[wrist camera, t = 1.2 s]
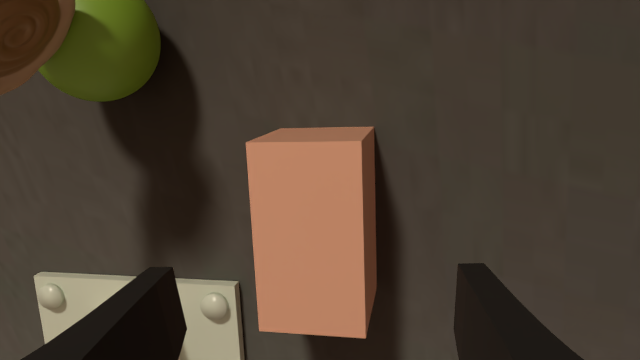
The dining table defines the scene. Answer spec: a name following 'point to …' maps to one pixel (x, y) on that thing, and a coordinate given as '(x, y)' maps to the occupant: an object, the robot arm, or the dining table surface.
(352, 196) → the top brick
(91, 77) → the snail figurine
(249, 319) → the dining table surface
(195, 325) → the baseplate
